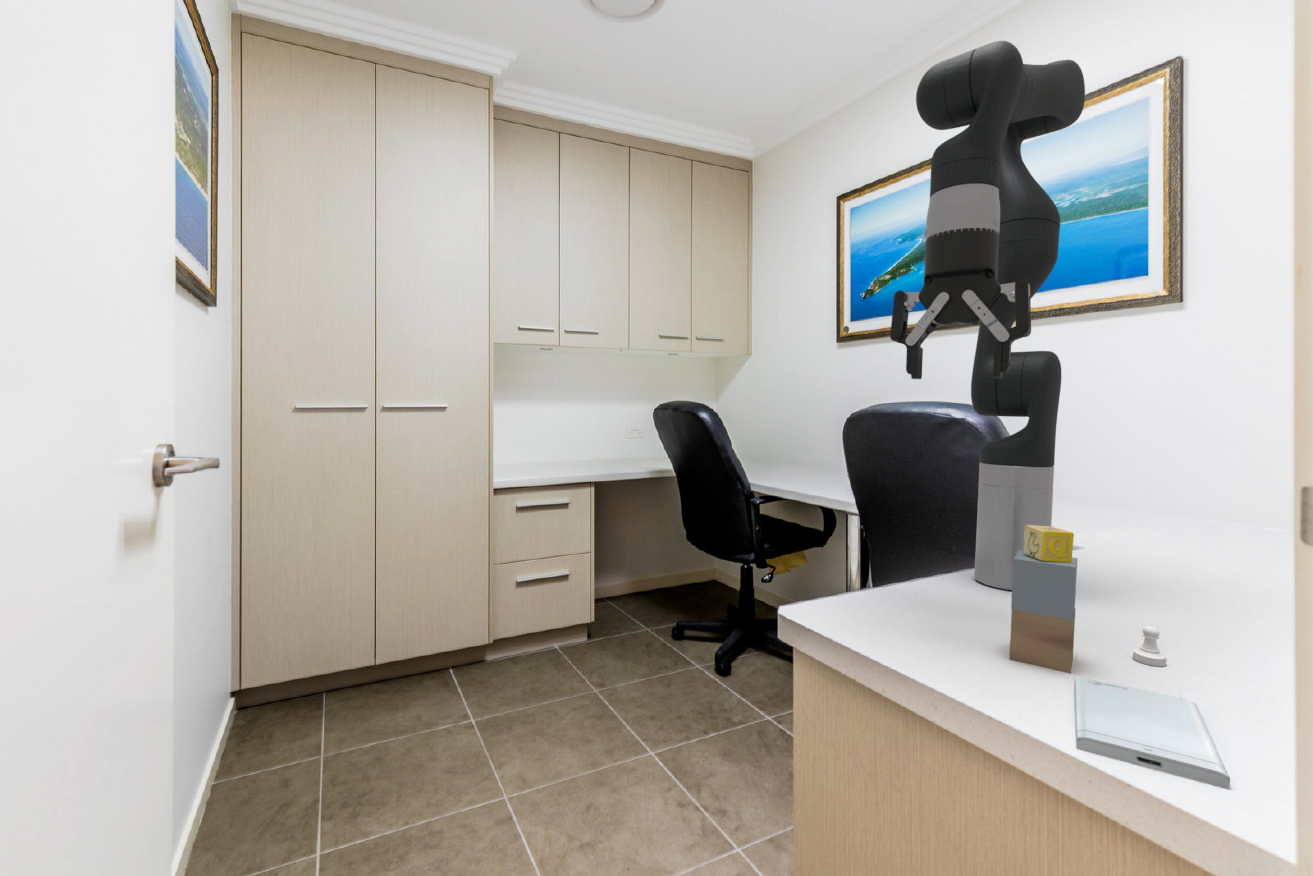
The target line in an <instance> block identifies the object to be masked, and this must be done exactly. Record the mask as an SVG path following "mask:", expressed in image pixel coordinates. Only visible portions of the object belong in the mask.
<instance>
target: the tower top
mask: <svg viewBox="0 0 1313 876" xmlns="http://www.w3.org/2000/svg"><path fill="white" fill-rule="evenodd" d="M1077 572H1078V557H1073V556H1072V561H1071V562H1052V561H1041V560H1039V559H1036V558H1034V557H1031V556H1029V555H1026V554H1024V553H1023V551H1020V550H1019V552H1018V553H1017V555H1016V556H1015V558H1014V563H1013V583H1012V590H1011V602H1010V603H1011V609H1010V610H1011V611H1012V610H1017V611H1022V612H1028V613H1033V614H1039V615H1044V616H1050V617H1055V618H1061V619H1066V620H1072V621H1073V617H1074V610H1075V611H1076V593H1077Z"/></svg>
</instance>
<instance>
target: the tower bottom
mask: <svg viewBox="0 0 1313 876" xmlns="http://www.w3.org/2000/svg"><path fill="white" fill-rule="evenodd" d="M1010 620H1011V621H1010V637H1009V640H1010V641H1009V656H1008V657H1009V659H1008V660H1009V661H1013V662H1018V663H1022V664H1027V665H1030V666H1035V667H1038V668H1039V667H1040V668H1043V669H1047V670H1048V669H1049V670H1054V671H1058V672H1061V673H1062V672H1063V673H1067V674H1072V667H1073V658H1074V657H1073V656H1074V644H1075V643H1074V642H1075V641H1074V640H1075V623H1076V609H1075V610H1074V617H1073V621H1072V620H1066V619H1061V618H1055V617H1050V616H1044V615H1039V614H1033V613H1028V612H1022V611H1017V610H1011V619H1010Z"/></svg>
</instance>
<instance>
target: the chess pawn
mask: <svg viewBox="0 0 1313 876" xmlns="http://www.w3.org/2000/svg"><path fill="white" fill-rule="evenodd" d="M1159 636H1160V631H1159V629H1158V628H1157V627H1154V626H1151V625H1147V626H1144V627H1143V628H1142V637H1144V640H1143V643H1142V644H1141V645H1139V647H1140V648H1135V649H1133V652H1132V658H1133V659H1134V661H1136V662H1137V663H1140V664H1142V665H1146V666H1150V667H1164V666H1167V656H1166V655H1165V654H1163V653H1161V650H1160V648H1159V647H1158V644H1157V640H1159V639H1160V638H1159Z"/></svg>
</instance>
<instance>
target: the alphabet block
mask: <svg viewBox="0 0 1313 876" xmlns="http://www.w3.org/2000/svg"><path fill="white" fill-rule="evenodd" d="M1074 538H1075V533H1074V532H1072V531H1068V530H1066V529H1061V528H1058V527H1055V526H1052V525H1051V526H1035V525H1025V527H1024V540H1023V553H1024V554H1026V555H1029V556H1031V557H1034V558H1036V559H1039V560H1041V561H1052V562H1071V561H1072V557H1073V547H1074Z"/></svg>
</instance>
